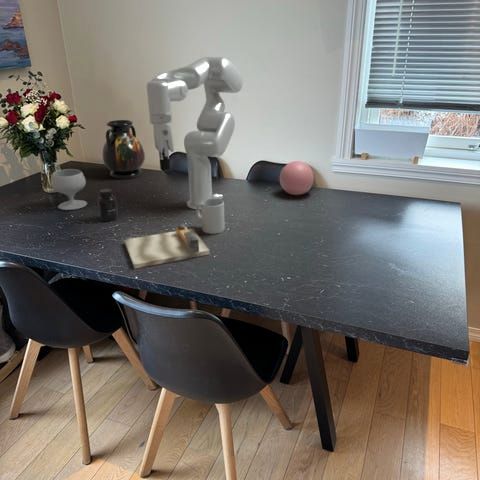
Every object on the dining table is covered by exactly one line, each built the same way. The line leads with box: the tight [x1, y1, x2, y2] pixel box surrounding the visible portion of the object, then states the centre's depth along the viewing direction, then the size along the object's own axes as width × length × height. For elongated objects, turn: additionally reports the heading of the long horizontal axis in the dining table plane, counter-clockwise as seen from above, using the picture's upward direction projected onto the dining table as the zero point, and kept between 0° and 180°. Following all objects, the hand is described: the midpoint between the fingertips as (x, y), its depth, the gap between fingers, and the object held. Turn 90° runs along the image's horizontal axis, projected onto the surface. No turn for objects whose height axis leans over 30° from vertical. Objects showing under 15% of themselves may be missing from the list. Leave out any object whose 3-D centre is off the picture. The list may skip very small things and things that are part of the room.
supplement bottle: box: [97, 188, 119, 222], centre depth 170 cm, size 7×7×12 cm
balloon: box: [279, 160, 315, 196], centre depth 196 cm, size 15×20×15 cm
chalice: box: [50, 168, 88, 211], centre depth 184 cm, size 14×14×15 cm
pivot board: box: [123, 223, 211, 269], centre depth 146 cm, size 25×20×6 cm
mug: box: [195, 199, 226, 235], centre depth 160 cm, size 12×8×11 cm
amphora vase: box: [102, 119, 146, 180], centre depth 223 cm, size 22×22×28 cm
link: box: [175, 226, 188, 246], centre depth 150 cm, size 14×4×2 cm, turn 24°
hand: (165, 169), depth 157 cm, fingers closed
